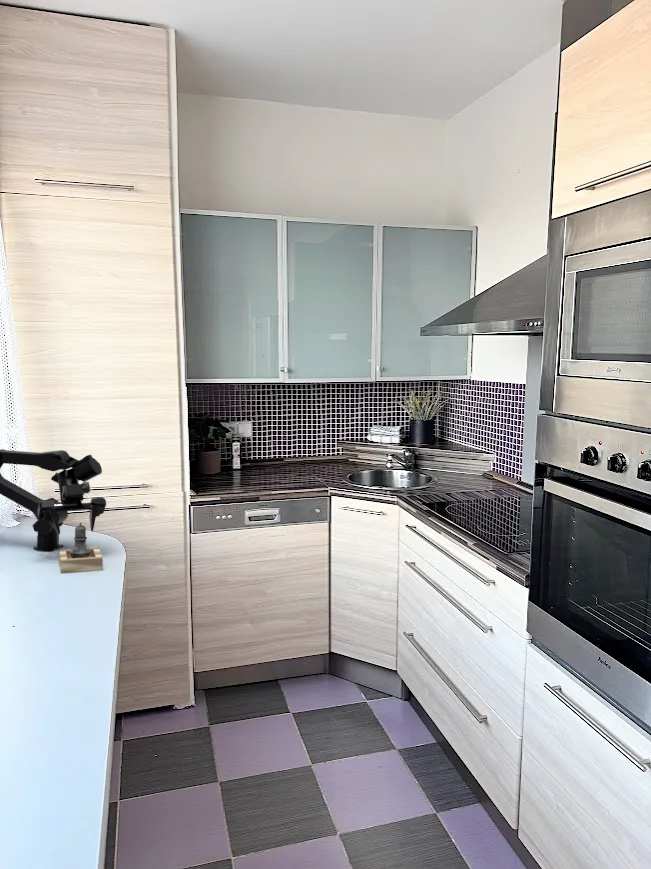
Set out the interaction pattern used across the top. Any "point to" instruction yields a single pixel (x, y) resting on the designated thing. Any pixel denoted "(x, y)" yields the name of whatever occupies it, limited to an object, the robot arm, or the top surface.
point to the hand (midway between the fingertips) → (76, 532)
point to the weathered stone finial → (80, 543)
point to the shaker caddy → (80, 561)
